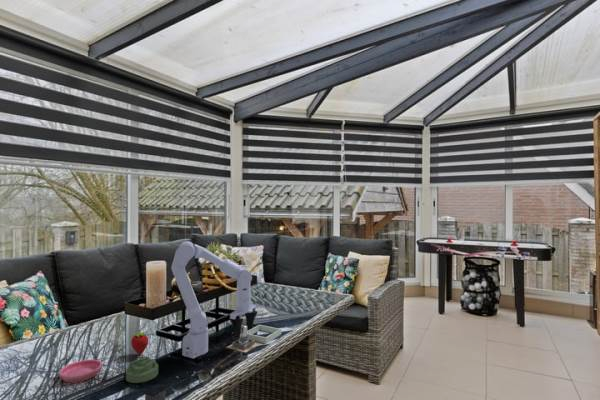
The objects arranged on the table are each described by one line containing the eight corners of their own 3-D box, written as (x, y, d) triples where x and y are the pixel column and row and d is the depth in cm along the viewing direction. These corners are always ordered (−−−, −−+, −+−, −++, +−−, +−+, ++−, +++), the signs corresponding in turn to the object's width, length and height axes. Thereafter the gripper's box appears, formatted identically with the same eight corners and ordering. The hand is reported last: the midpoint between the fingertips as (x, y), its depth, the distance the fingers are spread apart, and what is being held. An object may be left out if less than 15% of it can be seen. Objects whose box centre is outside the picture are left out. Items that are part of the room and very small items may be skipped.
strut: (244, 348, 135) (244, 328, 135) (236, 346, 137) (236, 326, 137) (250, 344, 138) (250, 325, 138) (242, 342, 140) (242, 323, 140)
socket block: (245, 354, 131) (245, 348, 131) (225, 349, 135) (226, 343, 135) (260, 345, 139) (260, 339, 139) (241, 340, 144) (241, 335, 144)
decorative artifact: (159, 378, 112) (156, 366, 121) (159, 357, 113) (156, 346, 121) (126, 386, 108) (125, 372, 117) (126, 364, 108) (125, 352, 117)
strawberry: (135, 360, 126) (135, 333, 126) (128, 354, 131) (128, 328, 131) (151, 355, 130) (151, 329, 130) (143, 350, 135) (143, 325, 135)
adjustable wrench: (230, 326, 164) (230, 322, 165) (223, 322, 169) (223, 319, 169) (270, 314, 182) (270, 311, 182) (263, 312, 186) (263, 308, 186)
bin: (266, 345, 139) (266, 338, 139) (243, 340, 145) (243, 333, 145) (281, 335, 150) (281, 329, 150) (259, 331, 156) (259, 324, 156)
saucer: (109, 368, 120) (110, 359, 120) (86, 386, 108) (86, 376, 108) (76, 367, 121) (76, 358, 121) (49, 385, 108) (49, 375, 108)
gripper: (240, 304, 130) (240, 339, 129) (261, 295, 142) (262, 327, 142) (226, 301, 133) (226, 336, 133) (248, 293, 146) (248, 325, 145)
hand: (243, 331), depth 138 cm, fingers open, 7 cm apart
